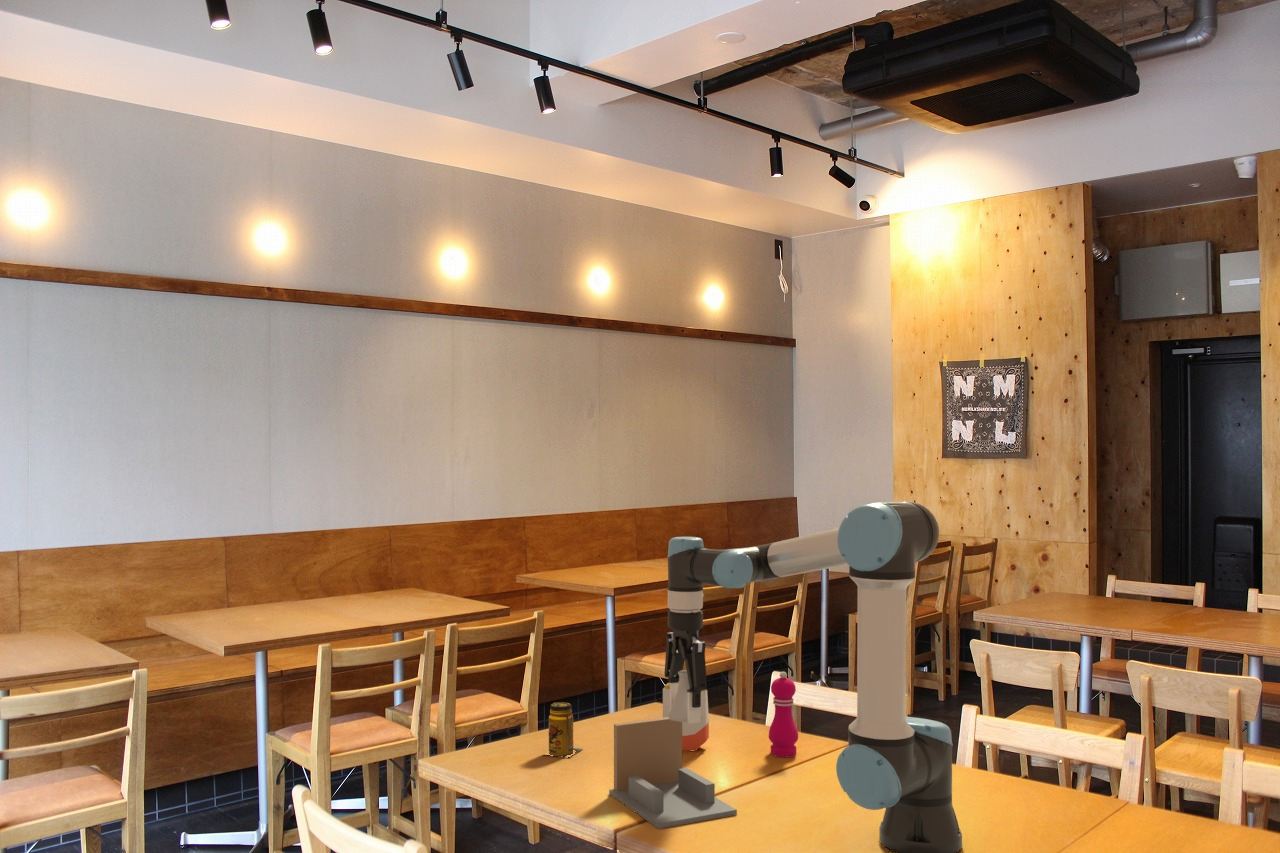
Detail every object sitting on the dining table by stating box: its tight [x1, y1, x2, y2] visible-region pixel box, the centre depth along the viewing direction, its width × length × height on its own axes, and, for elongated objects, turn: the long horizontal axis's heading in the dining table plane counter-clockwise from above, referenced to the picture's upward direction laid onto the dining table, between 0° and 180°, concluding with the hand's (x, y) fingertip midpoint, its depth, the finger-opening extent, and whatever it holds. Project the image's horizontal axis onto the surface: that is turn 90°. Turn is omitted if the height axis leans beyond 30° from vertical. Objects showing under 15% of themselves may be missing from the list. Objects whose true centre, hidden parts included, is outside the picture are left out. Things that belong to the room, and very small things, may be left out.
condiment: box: [548, 701, 584, 759], centre depth 256 cm, size 7×8×12 cm
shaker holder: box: [608, 717, 738, 830], centre depth 218 cm, size 23×18×15 cm
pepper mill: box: [768, 671, 799, 758], centre depth 255 cm, size 7×7×20 cm
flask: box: [669, 669, 702, 722], centre depth 221 cm, size 7×7×10 cm
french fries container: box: [662, 681, 710, 752], centre depth 260 cm, size 5×11×18 cm, turn 75°
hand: (684, 717), depth 221 cm, fingers closed on flask, 8 cm apart
